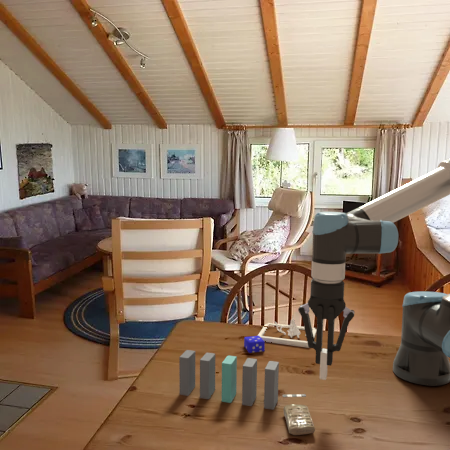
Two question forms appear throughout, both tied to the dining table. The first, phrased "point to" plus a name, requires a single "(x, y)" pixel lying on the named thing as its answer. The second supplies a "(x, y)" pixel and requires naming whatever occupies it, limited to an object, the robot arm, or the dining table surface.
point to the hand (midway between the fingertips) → (323, 377)
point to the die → (254, 344)
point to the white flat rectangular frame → (285, 341)
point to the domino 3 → (229, 378)
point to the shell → (291, 329)
